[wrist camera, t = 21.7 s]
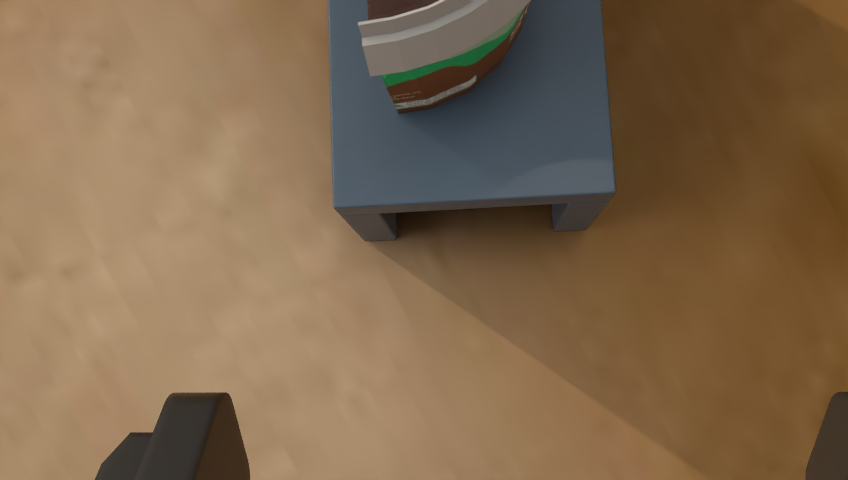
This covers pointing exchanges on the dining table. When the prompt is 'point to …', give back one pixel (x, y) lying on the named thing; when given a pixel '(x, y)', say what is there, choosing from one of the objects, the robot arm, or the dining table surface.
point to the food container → (437, 46)
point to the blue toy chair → (477, 128)
